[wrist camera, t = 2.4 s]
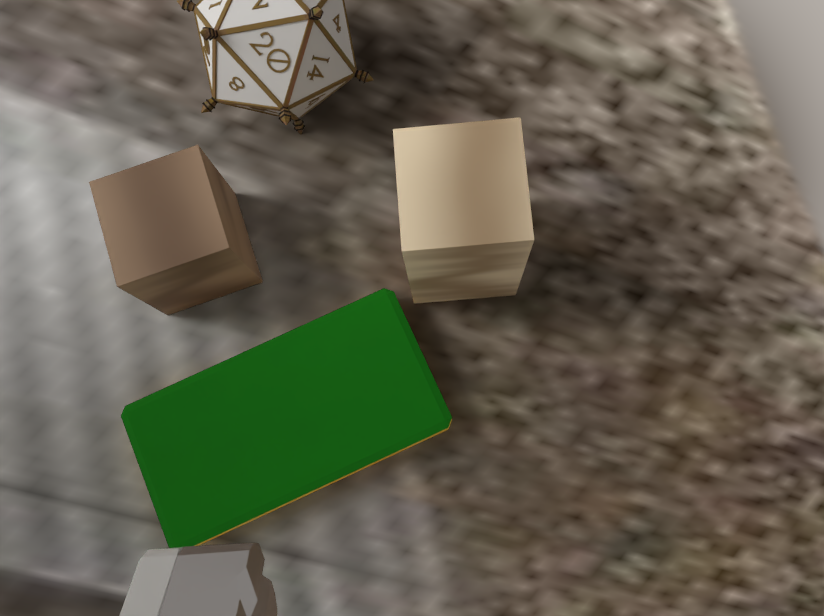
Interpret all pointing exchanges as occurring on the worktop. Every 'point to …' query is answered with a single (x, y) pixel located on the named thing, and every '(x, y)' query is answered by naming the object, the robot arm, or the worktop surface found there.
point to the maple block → (463, 209)
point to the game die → (275, 53)
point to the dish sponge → (284, 419)
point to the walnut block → (175, 232)
